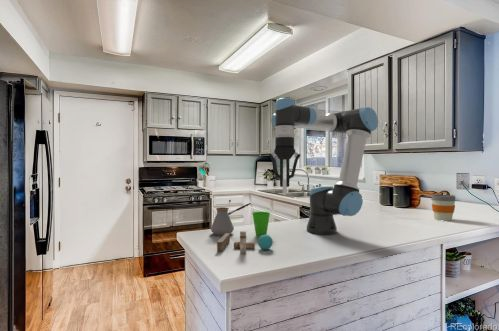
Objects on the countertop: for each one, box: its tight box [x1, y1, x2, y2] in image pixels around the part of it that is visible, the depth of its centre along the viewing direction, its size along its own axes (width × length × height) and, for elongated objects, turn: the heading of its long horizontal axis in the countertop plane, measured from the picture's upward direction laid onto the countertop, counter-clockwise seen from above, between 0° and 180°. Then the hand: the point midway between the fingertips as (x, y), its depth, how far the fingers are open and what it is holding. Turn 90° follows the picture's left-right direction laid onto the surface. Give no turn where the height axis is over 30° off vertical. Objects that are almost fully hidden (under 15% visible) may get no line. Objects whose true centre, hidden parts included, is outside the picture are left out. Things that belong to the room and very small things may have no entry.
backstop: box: [216, 233, 231, 253], centre depth 119 cm, size 2×14×4 cm, turn 171°
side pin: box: [239, 230, 247, 255], centre depth 110 cm, size 2×2×8 cm
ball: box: [257, 234, 274, 250], centre depth 115 cm, size 6×6×6 cm
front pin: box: [233, 241, 256, 250], centre depth 117 cm, size 2×2×8 cm
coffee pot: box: [210, 202, 253, 236], centre depth 142 cm, size 21×12×15 cm, turn 108°
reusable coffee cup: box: [430, 193, 457, 222], centre depth 175 cm, size 13×13×15 cm
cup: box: [251, 210, 271, 237], centre depth 137 cm, size 9×9×11 cm
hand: (284, 194), depth 115 cm, fingers closed
